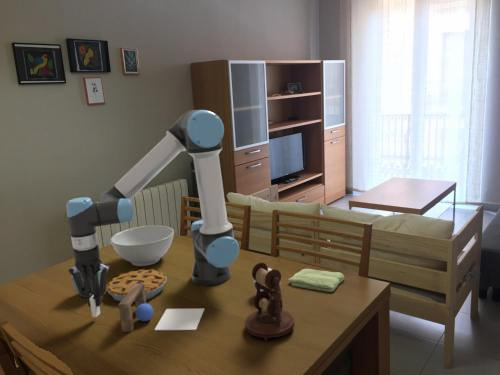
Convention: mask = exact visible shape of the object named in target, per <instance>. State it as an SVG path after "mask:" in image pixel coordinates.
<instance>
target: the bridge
mask: <svg viewBox="0 0 500 375" xmlns="http://www.w3.org/2000/svg"><path fill="white" fill-rule="evenodd" d="M134 300H135V301H134ZM134 302H135V303H134ZM133 303H134V304H135V308H136V309H137V307H138V306H139V305H141V304H144V303H146V304H148V302H147V299H146V295H145V287H144V284H135V285H134V286H133V287H132V289H131V290H130V291H129V292H128V294H127V295H126V296H125V297H124V298H123V300H122V301H119V304H118V310H119V316H120V324H121V329H122V330H121V331H122V332H123V333H132V332H133V331H134V330H135V324H134V318H133V312H132V311H133V310H132V304H133Z"/></svg>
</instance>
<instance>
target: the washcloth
mask: <svg viewBox="0 0 500 375" xmlns="http://www.w3.org/2000/svg"><path fill="white" fill-rule="evenodd" d="M344 280H345V276H344V274H343V273H342V272H339V271H337V272H334V271H328V270H320V269H319V270H317V269H314V268H313V269H312V268H303V269H301V270H300V271H299V272H296V273H294V275H293V276H292V277H290V278H288V283H290V284H291V285H290V286H291V287H296V288H303V289H309V290H316V291H322V292H328V293H332V292H334V291H335V290H336V288H337V287H338V286H339V284H341V283H342V282H343V281H344Z"/></svg>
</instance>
